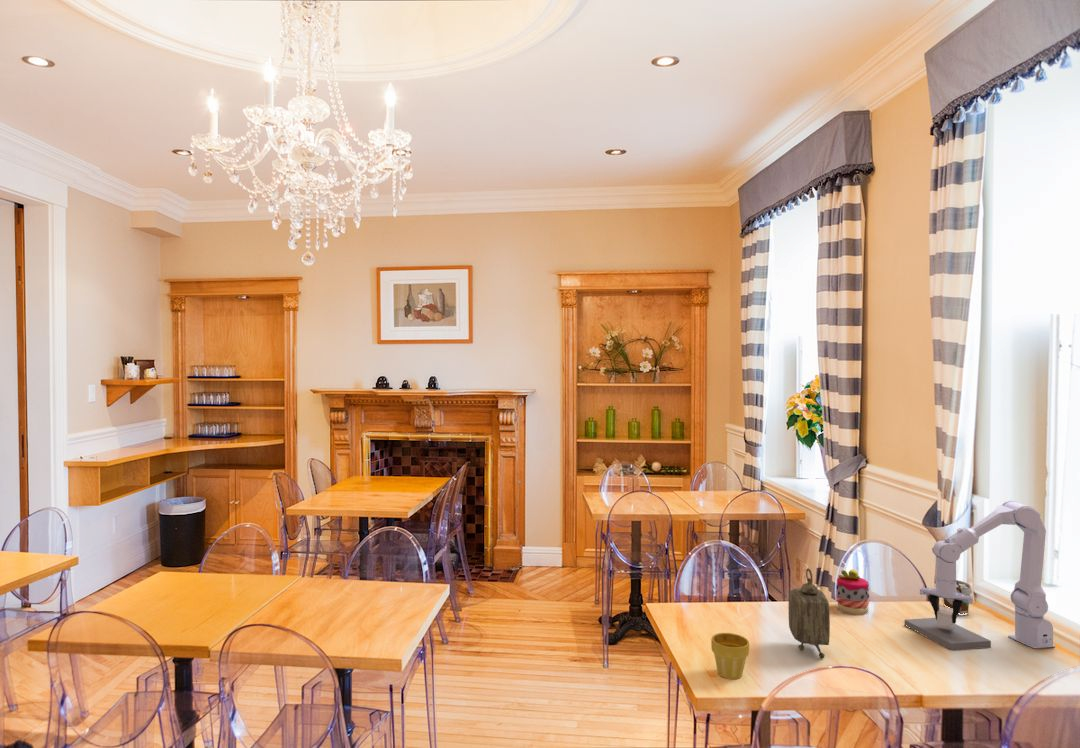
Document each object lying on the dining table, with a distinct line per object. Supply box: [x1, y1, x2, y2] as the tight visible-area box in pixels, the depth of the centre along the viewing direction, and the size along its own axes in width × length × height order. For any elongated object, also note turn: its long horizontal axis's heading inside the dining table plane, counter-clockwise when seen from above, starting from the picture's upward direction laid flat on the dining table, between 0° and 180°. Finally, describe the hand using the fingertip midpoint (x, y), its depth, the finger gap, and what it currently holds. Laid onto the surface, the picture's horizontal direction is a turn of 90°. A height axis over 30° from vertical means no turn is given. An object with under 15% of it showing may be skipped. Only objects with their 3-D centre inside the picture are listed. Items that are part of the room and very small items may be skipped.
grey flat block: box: [904, 617, 992, 651], centre depth 209 cm, size 20×14×2 cm
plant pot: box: [710, 632, 750, 680], centre depth 182 cm, size 10×10×10 cm
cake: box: [836, 569, 870, 616], centre depth 232 cm, size 10×11×15 cm
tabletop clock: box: [788, 567, 831, 659], centre depth 198 cm, size 14×9×25 cm, turn 170°
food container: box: [942, 579, 973, 614], centre depth 232 cm, size 12×6×10 cm, turn 179°
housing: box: [937, 605, 956, 631], centre depth 210 cm, size 8×4×5 cm, turn 140°
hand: (945, 620), depth 209 cm, fingers closed on housing, 4 cm apart
